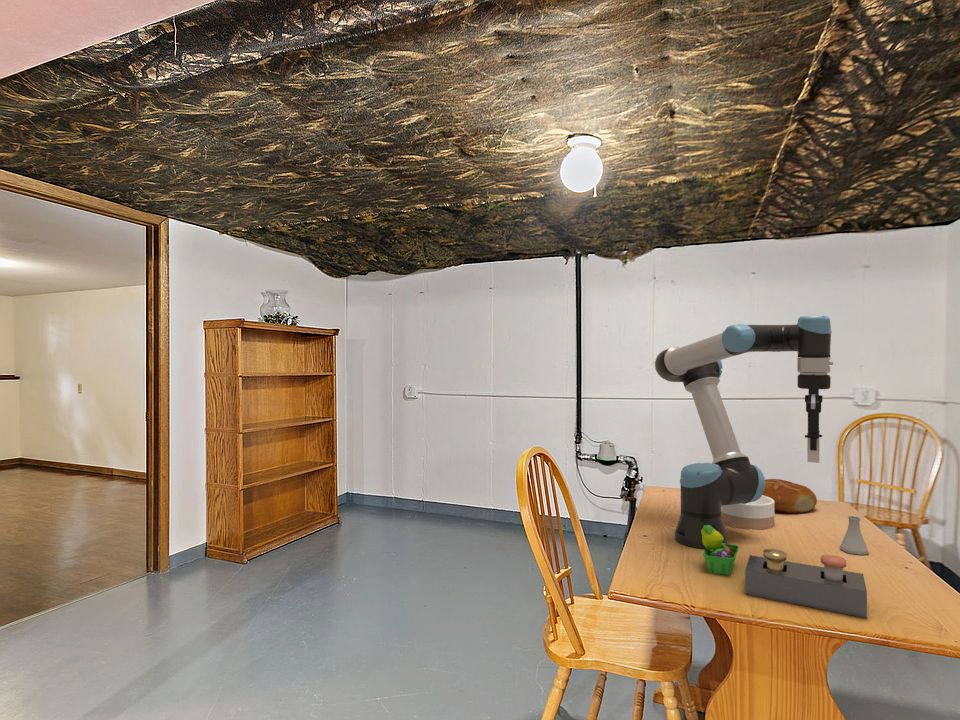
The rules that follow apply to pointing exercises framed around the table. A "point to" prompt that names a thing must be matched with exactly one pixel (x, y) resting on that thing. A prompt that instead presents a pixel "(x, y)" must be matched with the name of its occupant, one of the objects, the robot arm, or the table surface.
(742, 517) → the bowl
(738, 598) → the table surface
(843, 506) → the table surface
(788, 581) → the block
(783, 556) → the brass plunger
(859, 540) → the flask
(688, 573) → the table surface
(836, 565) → the red plunger
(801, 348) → the robot arm
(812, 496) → the bread
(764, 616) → the table surface
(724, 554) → the fruit basket
